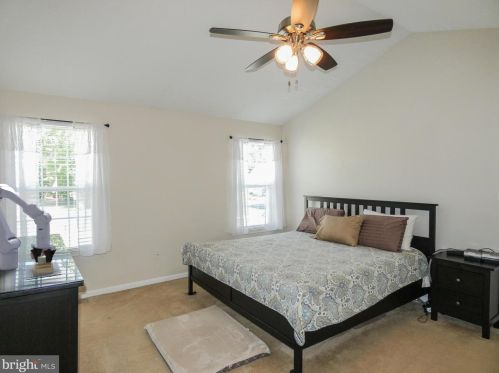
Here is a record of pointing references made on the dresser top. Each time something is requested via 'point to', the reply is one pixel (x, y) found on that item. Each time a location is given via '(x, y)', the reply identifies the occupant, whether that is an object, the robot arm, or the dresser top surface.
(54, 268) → the blueprint board
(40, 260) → the sage block
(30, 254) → the video game controller
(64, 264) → the dresser top surface
